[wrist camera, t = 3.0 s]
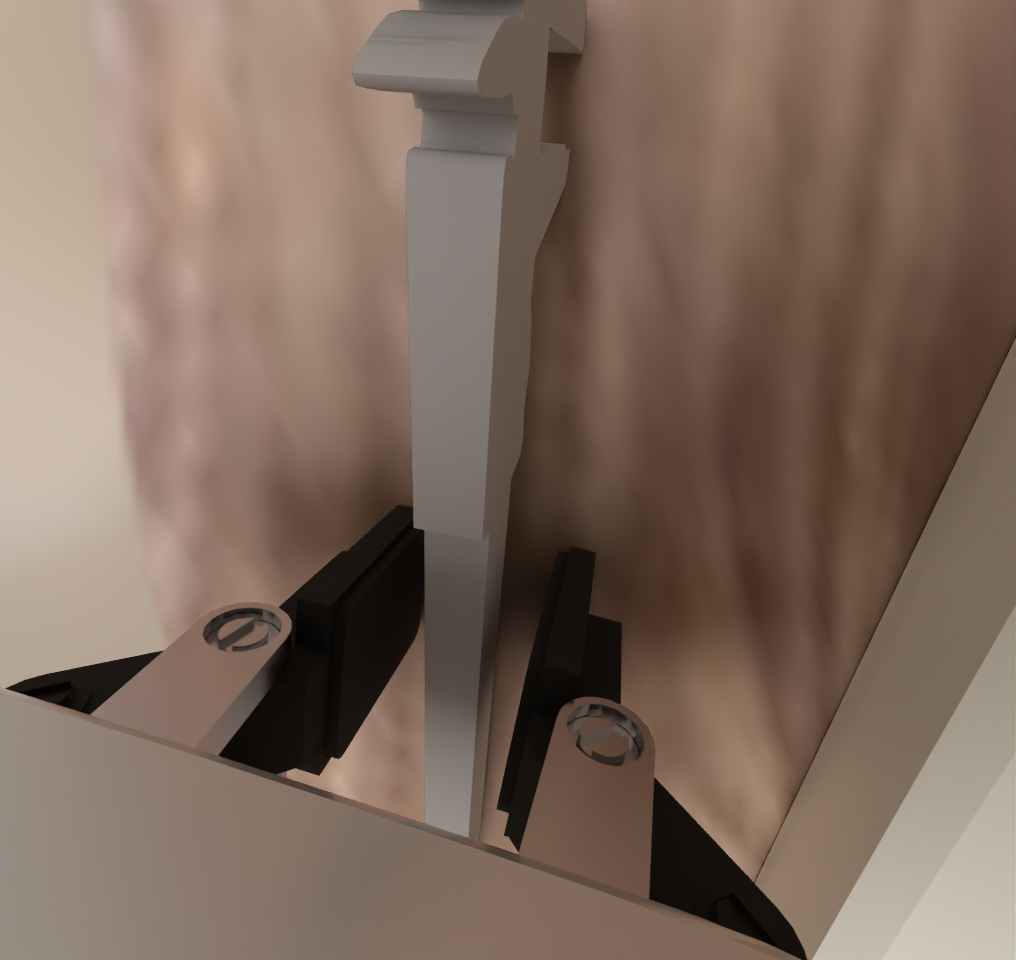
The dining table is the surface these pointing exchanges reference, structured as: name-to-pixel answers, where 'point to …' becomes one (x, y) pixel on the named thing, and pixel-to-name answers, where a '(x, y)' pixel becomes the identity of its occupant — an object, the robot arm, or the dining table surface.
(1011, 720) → the housing
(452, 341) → the caliper
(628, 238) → the dining table surface
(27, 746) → the robot arm
